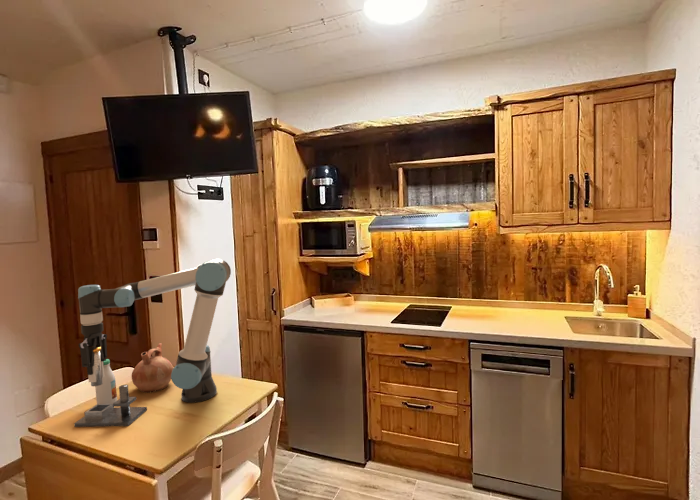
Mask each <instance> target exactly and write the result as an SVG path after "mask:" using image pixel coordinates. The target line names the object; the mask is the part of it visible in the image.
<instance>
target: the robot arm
mask: <svg viewBox="0 0 700 500" xmlns="http://www.w3.org/2000/svg"><path fill="white" fill-rule="evenodd" d="M231 273H232V271H231V266H230V264H229V263H228V262H227V261H226V260H223V259H221V258H213V259H211V260H207V261H205V262H203V263H200V264H198V265H197V266H196V267H194V268H190V269H185V270H180V271H178V272H173V273H169V274H165V275H161V276H157V277H152V278H148V279H145V280H140V281H136V282H130V283H127V284H124V285H122V286H119V287H116V288H110V289H108V288H107V289H102V288H101V285H99V284H87V285H82V286H80V287H78V289H77V292H78V294H77V296H78V297H77V299H78V307H79V317H80V324H81V326H80V329H81V330H80V332H81V334H82V335H83V342H79V343H78V348H79V349H80V358H81V367H83V368H86V373H87V377H88V378H87V379H88V383H91V382H96V369H95V366H93V365H94V351H93V350H94V349H95V348H96V347H101V351H100V356H101V368H102V377H104V362H103V361H106V359H108V349H107V347H108V345H107V344H108V343H107V337H108V335H107V334H105V333H104V334H103V332H104V322H103V321H104V316H103V309H106V308H107V309H109V308H111V309H112V308H126V307H131V306H132V305H133V303H134V302H135V301H136V300H141V299H144V298H149V297H154V296H156V295H161V294H164V293H165V294H166V293H169V292H173V291H177V290H181V289H186V288H189V287H194V292H195V293H196V298H195V302H194V305H193V309H192V313H191V319H190V322H189V327H188V328H187V329H188V331H187V334H186V338H185V343H184V346H183V349H181V350H180V351H178V354H177V359H176V362H175V366H173V370H172V373H171V382H172V383H173V385H174V386H175V387H177V388H179V389H180V390H182V391H181V395H180V396H181V400H182V401H183V402H185V403H189V404H190V403H193V404H194V403H200V402H204V401H207V400H210V399H212V398H213V397H215V396H216V395H217V392H218V391H217V385H216V383H215V380H214V379H213V377H212V359H211V349H210V346H209V345H208V340H209V336H210V333H211V328H212V324H213V321H214V317H215V312H216V309H217V304H218V301H219V298H221V297H223V295H224V292H225V288H226V283H227V282H228V281H229V279H230V277H231V275H232V274H231Z"/></svg>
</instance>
